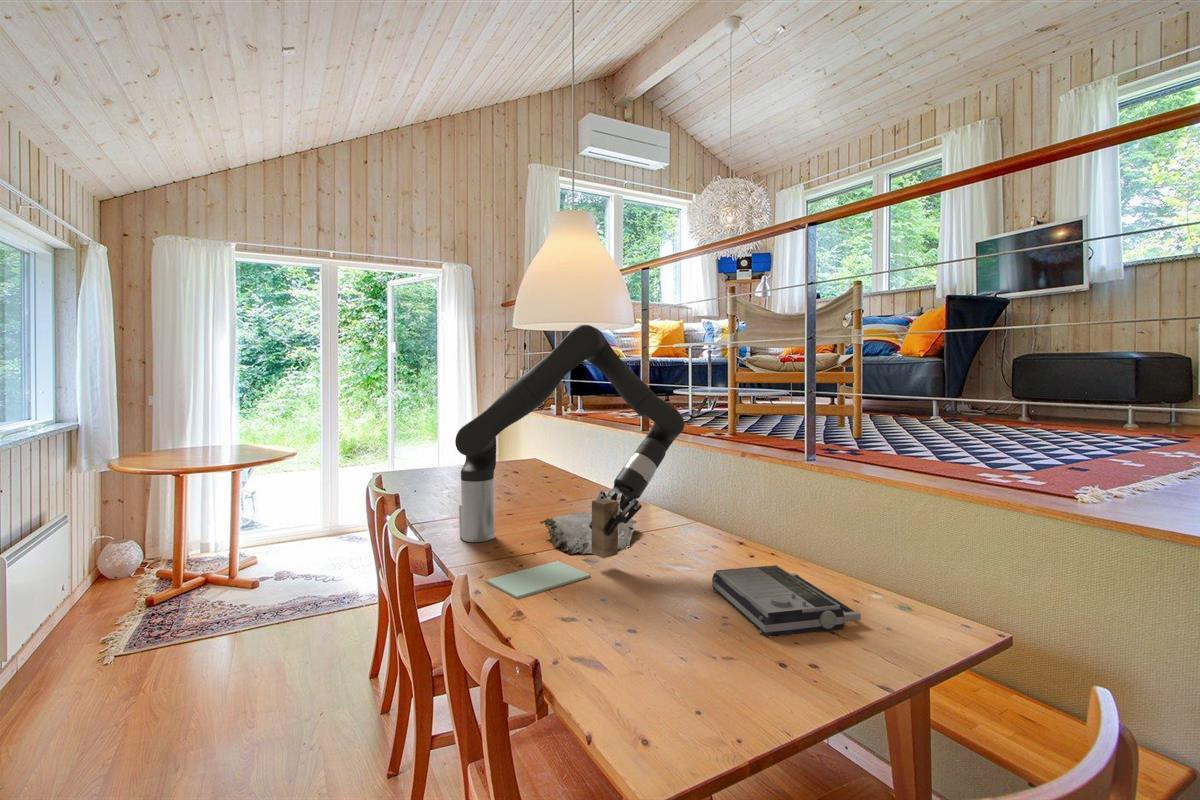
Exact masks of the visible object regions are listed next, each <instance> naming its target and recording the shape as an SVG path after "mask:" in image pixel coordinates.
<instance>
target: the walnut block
mask: <svg viewBox="0 0 1200 800" xmlns="http://www.w3.org/2000/svg"><path fill="white" fill-rule="evenodd" d="M617 504H618V501H615V500H611V499H607V498H604V499H599V500H596V499H595V500H594V499H593V500H592V501H591V512H592V553H591V555H593V556H597V557H599V558H602V559H607V558H611V557H614V556H618V555H619V554H618V553H619V549H618V525H617V527H616V528H615V530H614V531H613V533H612V534H610V536H607V535H605V533H604V532H603V529H604V528H605V526H606V525H607V523H608V521H609V520H610V518H612V516H613V513H614V512H615V507H616V506H617Z"/></svg>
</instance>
